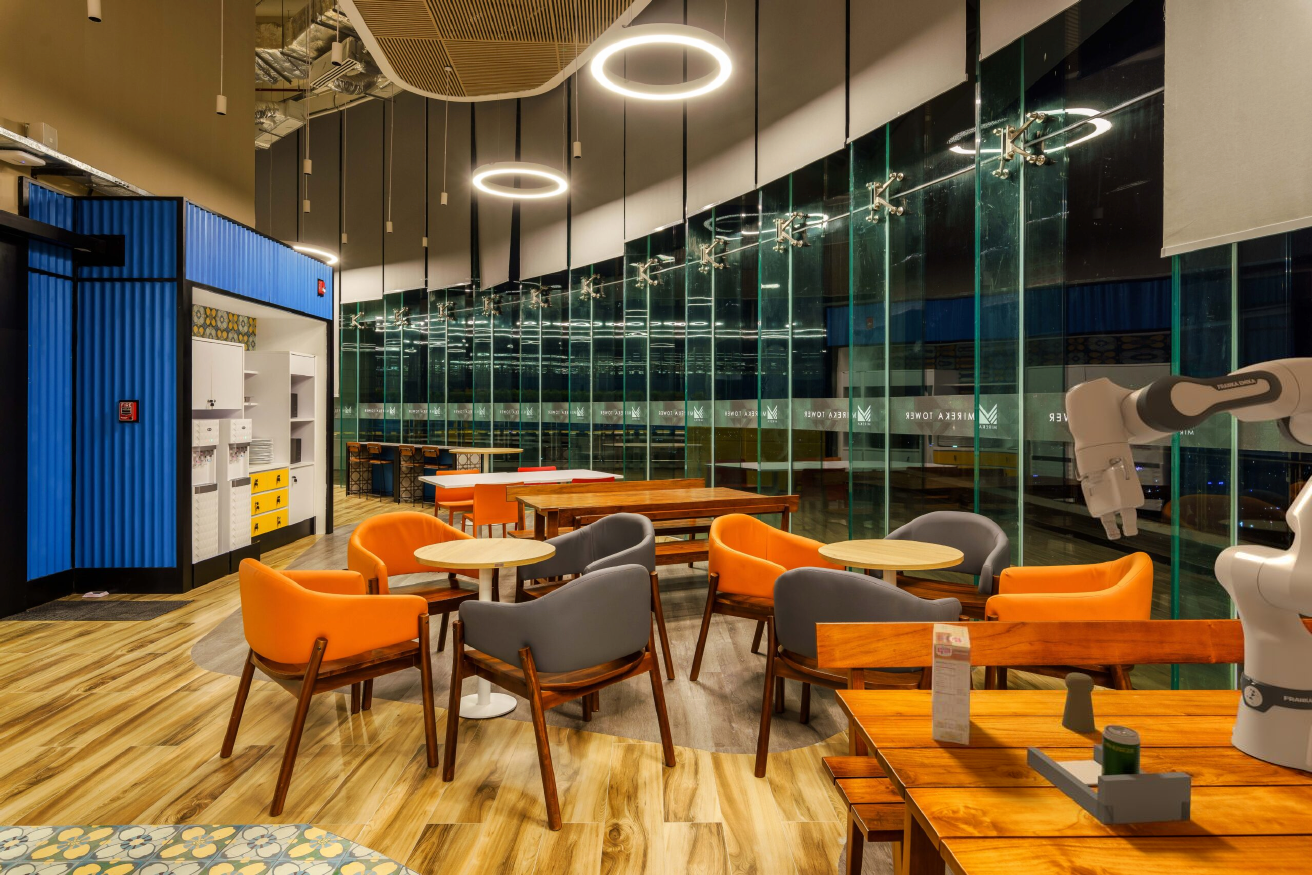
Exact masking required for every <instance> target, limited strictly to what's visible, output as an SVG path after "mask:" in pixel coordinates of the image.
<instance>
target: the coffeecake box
mask: <svg viewBox="0 0 1312 875" xmlns="http://www.w3.org/2000/svg"><path fill="white" fill-rule="evenodd" d="M971 647H972V646H971V641H970V634H969V630H968V626H961V625H952V624H946V623H933V631H932V656H931V657H932V664H931V666H932V667H931V670H932V671H931V672H932V673H931V733H932V734H931V736H932V737H931V738H932V740H934V741H940V742H947V743H955V744H960V745H966V746H969V745H970V718H971V716H970V714H971V713H970V711H971V710H970V708H971V704H970V703H971V655H972V654H971V649H972V648H971Z"/></svg>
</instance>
